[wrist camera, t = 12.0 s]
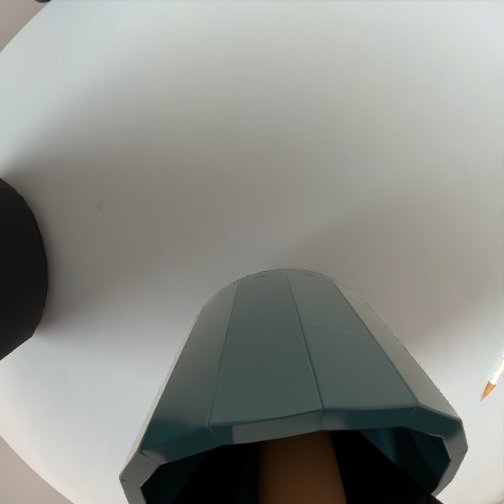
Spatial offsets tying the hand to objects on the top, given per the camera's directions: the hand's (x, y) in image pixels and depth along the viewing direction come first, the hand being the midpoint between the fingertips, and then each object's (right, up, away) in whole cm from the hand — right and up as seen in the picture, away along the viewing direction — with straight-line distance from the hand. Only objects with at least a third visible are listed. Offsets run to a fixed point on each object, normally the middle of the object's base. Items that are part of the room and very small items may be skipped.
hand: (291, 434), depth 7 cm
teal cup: (0, +1, +4) cm, 4 cm away
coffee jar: (-17, +5, +6) cm, 19 cm away
